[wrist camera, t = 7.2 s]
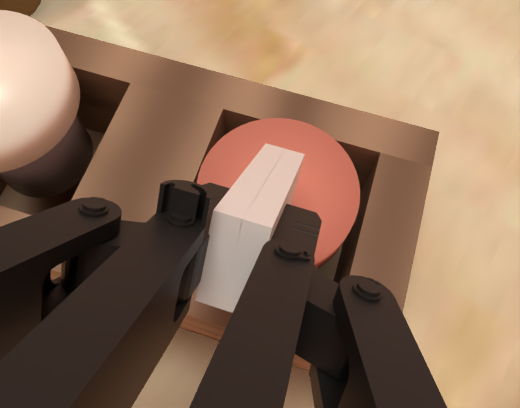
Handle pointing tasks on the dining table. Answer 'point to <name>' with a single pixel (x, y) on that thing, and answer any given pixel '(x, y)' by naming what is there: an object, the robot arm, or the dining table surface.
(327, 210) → the red button
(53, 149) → the ivory button
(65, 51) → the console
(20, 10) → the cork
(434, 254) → the dining table surface
